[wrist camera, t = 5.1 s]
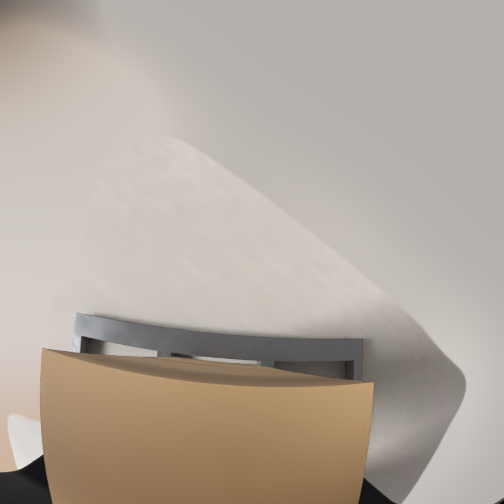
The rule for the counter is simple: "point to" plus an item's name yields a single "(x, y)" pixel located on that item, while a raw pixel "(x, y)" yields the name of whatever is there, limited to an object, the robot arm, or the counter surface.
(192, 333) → the rail plate
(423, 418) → the counter surface
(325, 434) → the oak block
